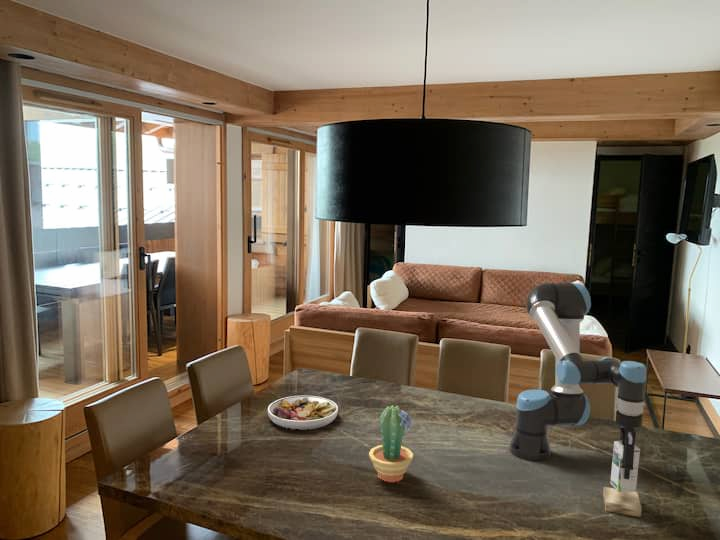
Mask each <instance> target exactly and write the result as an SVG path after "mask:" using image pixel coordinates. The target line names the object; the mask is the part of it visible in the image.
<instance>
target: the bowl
mask: <svg viewBox="0 0 720 540" xmlns="http://www.w3.org/2000/svg"><path fill="white" fill-rule="evenodd" d="M338 413H339V407H338V404H337V403H336V402H335V401H333V400H331V399H328V398H326V397H322V396H318V395H317V396H316V395H315V396H314V395H294V396H292V395H291V396H287V397H283V398H280V399H277V400H275V401H273V402H272V403H270V404H269V405H268V407H267V415H268V418H269V419H270V420H271V421H272V422H273V423H274V424H275V425H277V426H279V427H281V426H282V427H281V428H284V427H285V428H284V429H288V428H290V429H289V430H295V429H299V430H300V431H304V430H305V431H306V430H307V429H309V430H314V429H315V430H316V429H319V428H324V427H326V426H327V425H329V424H331V423H332V422H333V421H334V420H335V419H336V418H337V416H338ZM299 430H298V431H299Z"/></svg>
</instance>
